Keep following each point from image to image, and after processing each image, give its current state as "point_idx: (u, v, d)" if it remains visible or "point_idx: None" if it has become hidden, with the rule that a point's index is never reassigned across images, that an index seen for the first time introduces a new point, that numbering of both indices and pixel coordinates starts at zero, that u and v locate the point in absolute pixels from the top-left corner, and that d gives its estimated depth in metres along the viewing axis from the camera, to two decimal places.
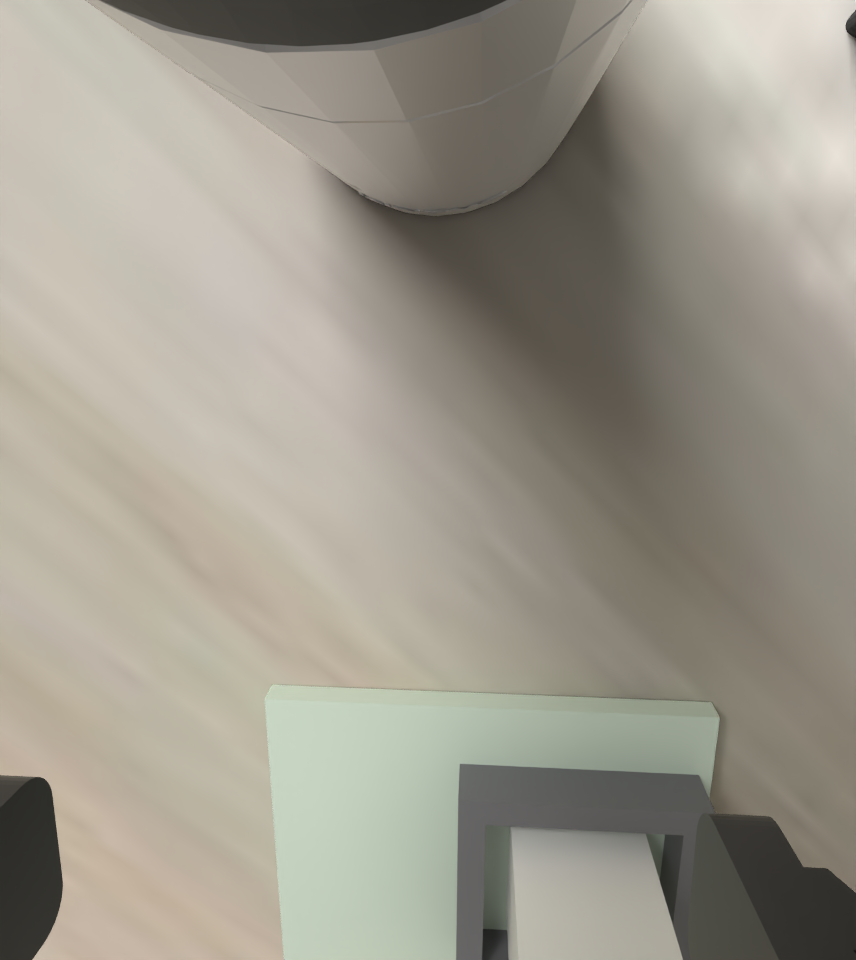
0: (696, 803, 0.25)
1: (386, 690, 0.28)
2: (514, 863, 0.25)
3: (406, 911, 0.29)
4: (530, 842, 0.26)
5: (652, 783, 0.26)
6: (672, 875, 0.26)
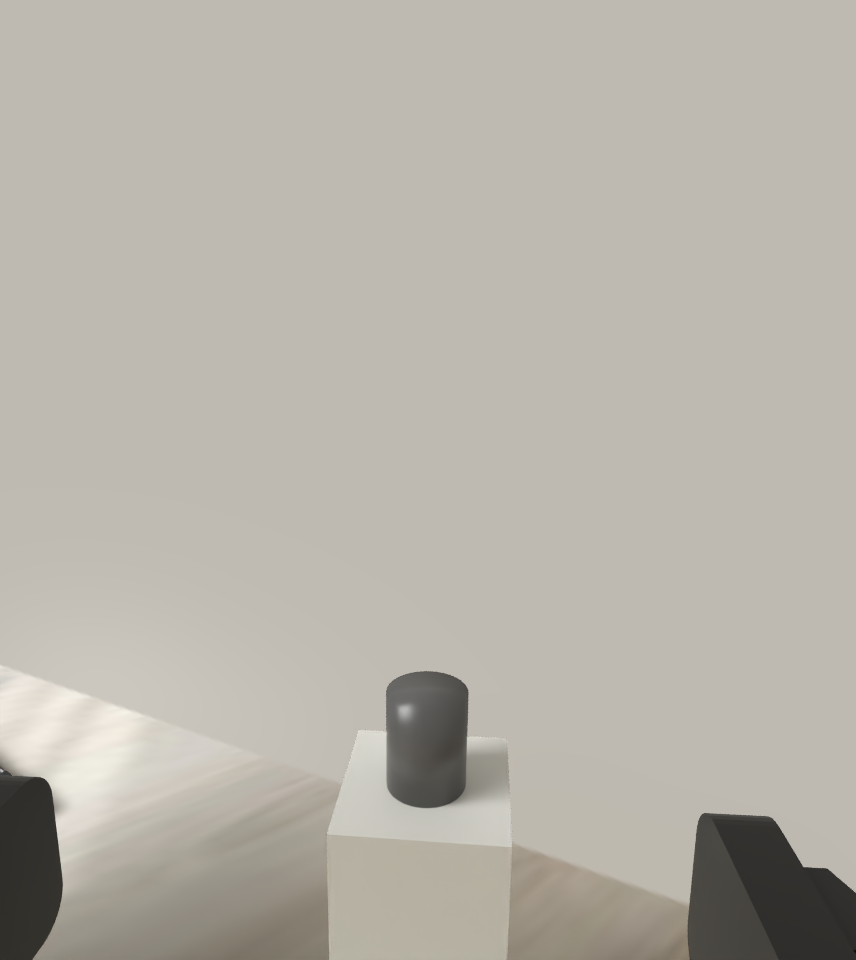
0: None
1: None
2: None
3: None
4: None
5: None
6: None
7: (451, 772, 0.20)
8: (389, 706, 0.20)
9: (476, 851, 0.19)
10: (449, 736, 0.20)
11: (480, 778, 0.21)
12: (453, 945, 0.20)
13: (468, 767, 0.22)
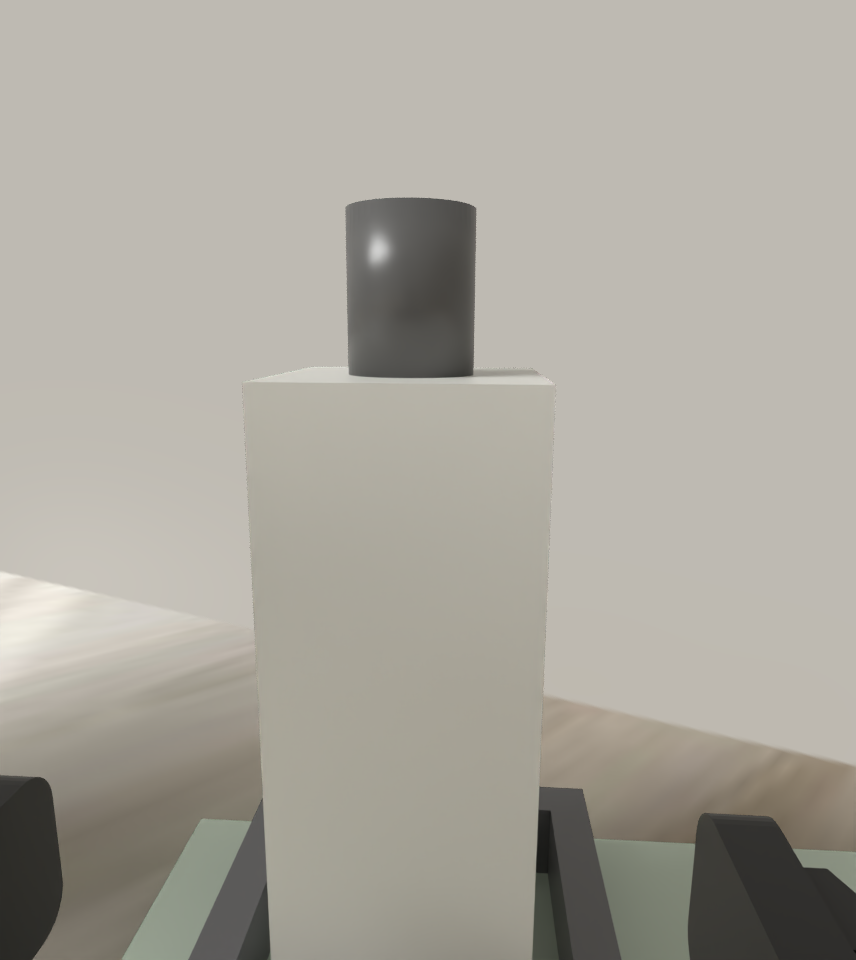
0: None
1: None
2: None
3: None
4: None
5: None
6: None
7: (450, 321, 0.12)
8: (349, 216, 0.13)
9: (494, 396, 0.11)
10: (447, 248, 0.12)
11: (495, 374, 0.14)
12: (458, 582, 0.12)
13: (476, 372, 0.14)
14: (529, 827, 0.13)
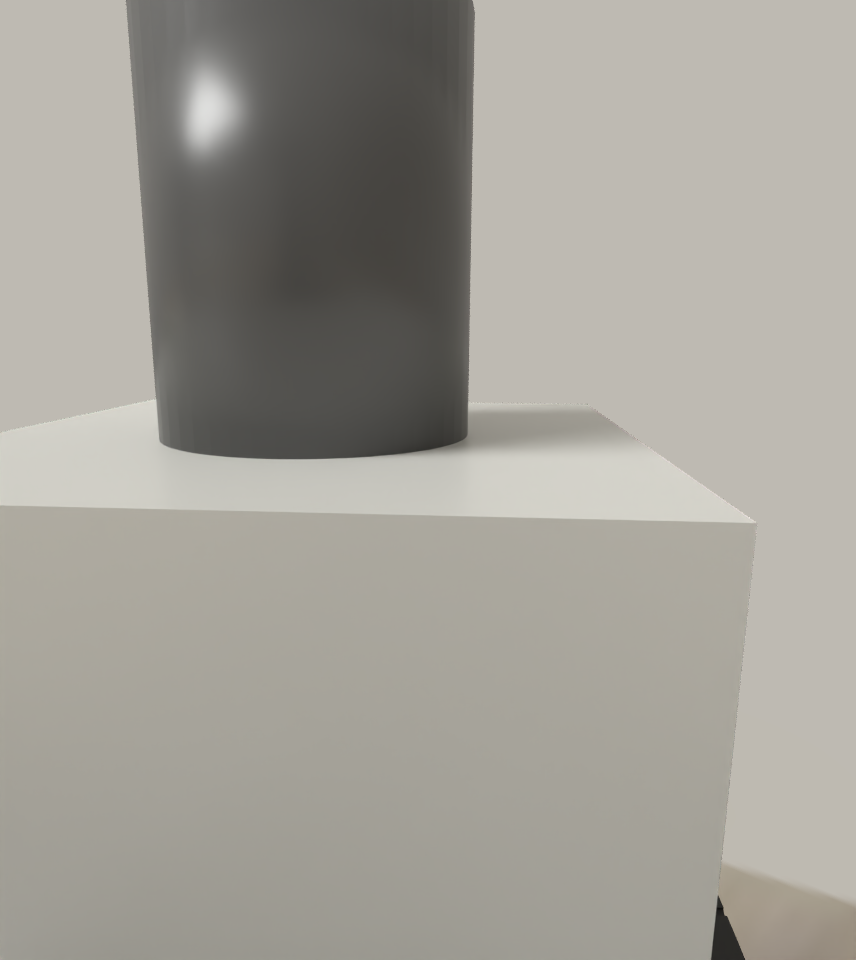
0: None
1: None
2: None
3: None
4: None
5: None
6: None
7: (403, 302, 0.05)
8: (127, 15, 0.05)
9: (534, 560, 0.03)
10: (389, 93, 0.04)
11: (519, 430, 0.06)
12: None
13: (475, 422, 0.06)
14: None
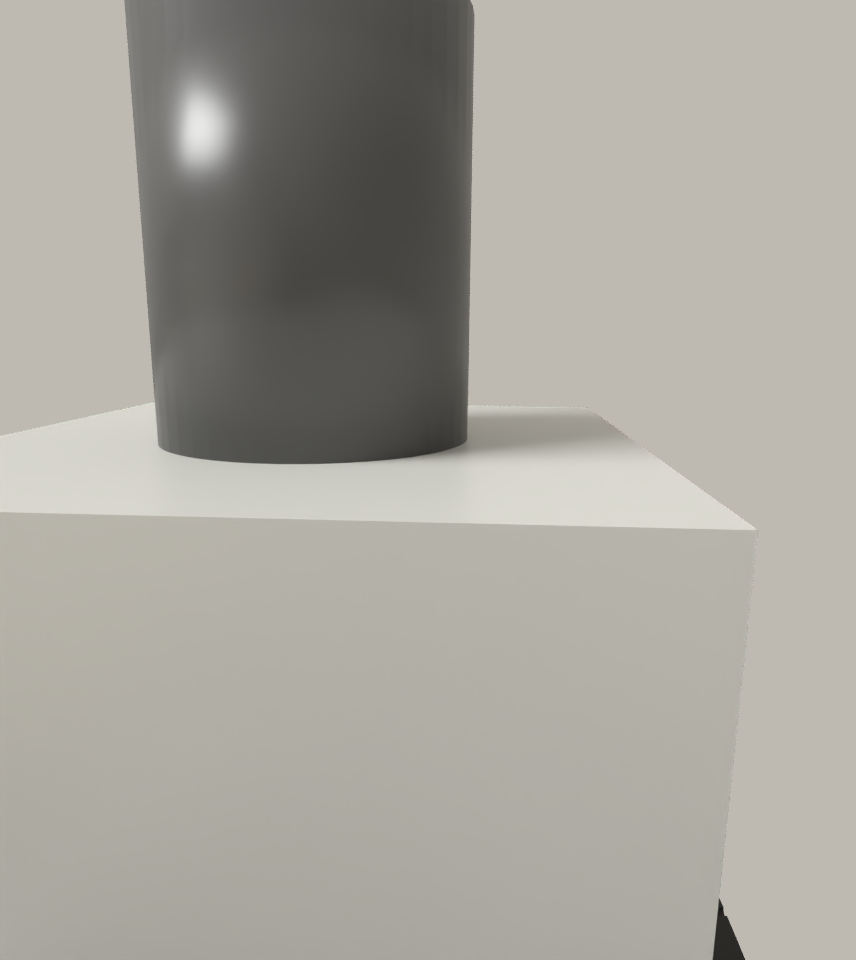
0: None
1: None
2: None
3: None
4: None
5: None
6: None
7: (403, 306, 0.05)
8: (126, 18, 0.05)
9: (537, 569, 0.03)
10: (389, 98, 0.04)
11: (519, 434, 0.06)
12: None
13: (475, 425, 0.06)
14: None
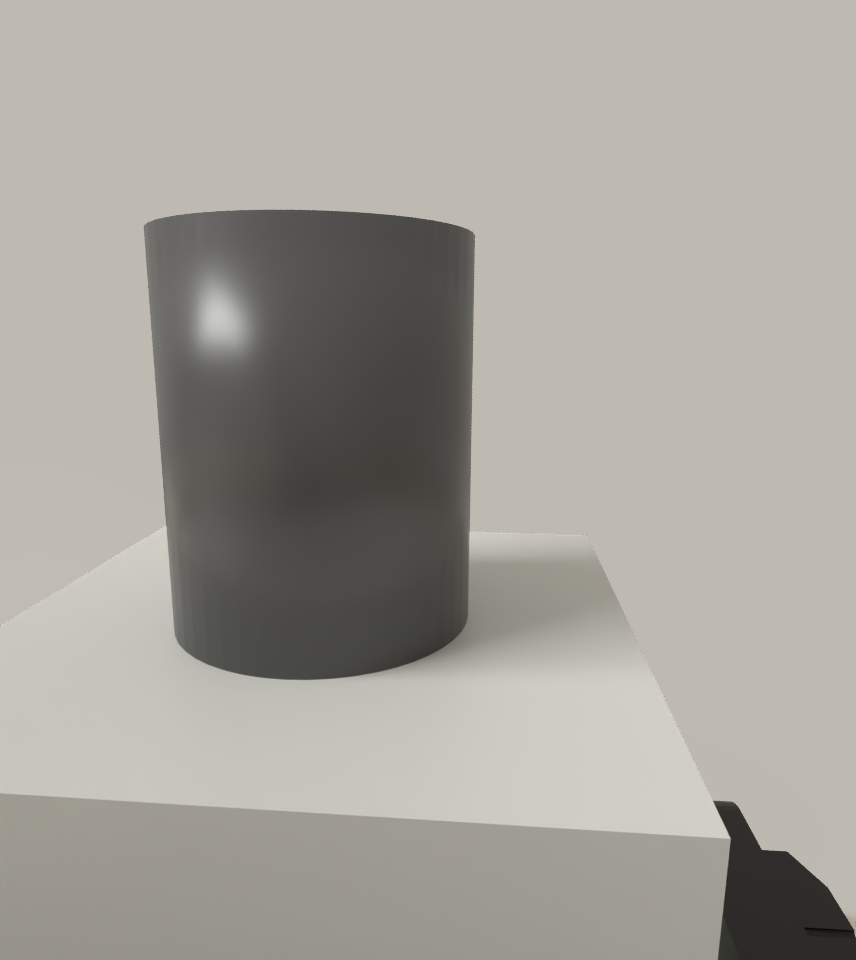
0: None
1: None
2: None
3: None
4: None
5: None
6: None
7: (406, 529, 0.05)
8: (146, 256, 0.05)
9: (525, 862, 0.03)
10: (391, 349, 0.04)
11: (519, 604, 0.06)
12: None
13: (476, 582, 0.07)
14: None
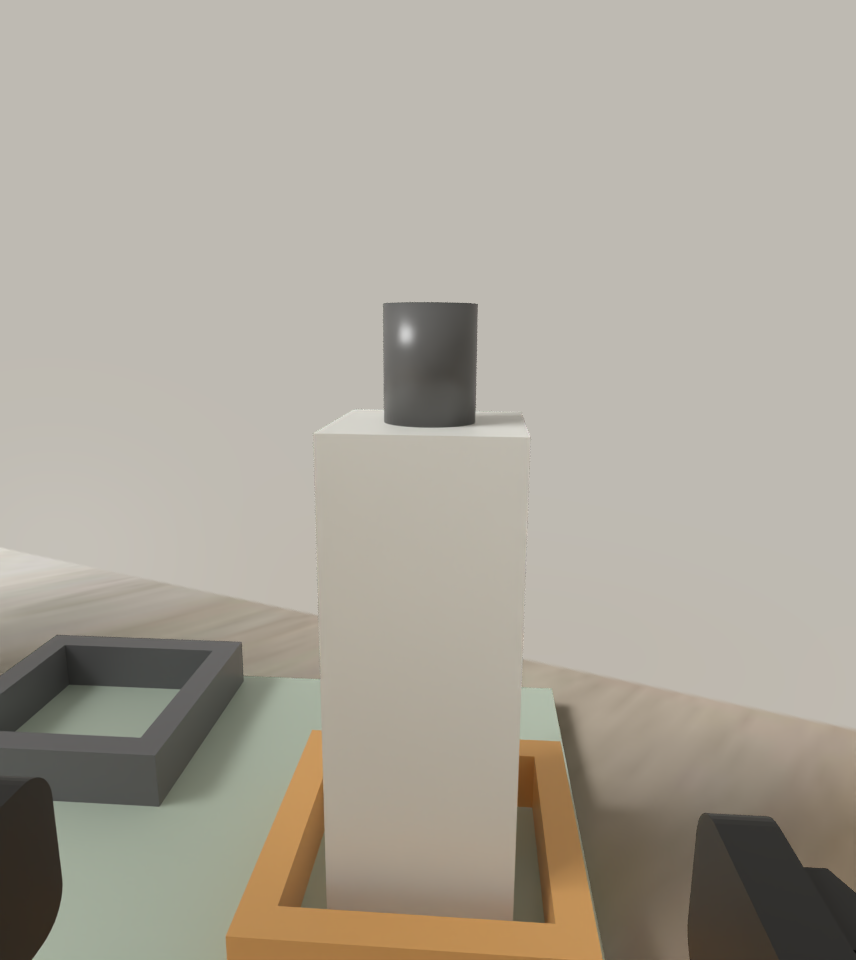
0: None
1: None
2: (326, 856, 0.19)
3: (80, 847, 0.23)
4: None
5: None
6: (116, 660, 0.33)
7: (458, 386, 0.17)
8: (386, 311, 0.17)
9: (488, 445, 0.16)
10: (456, 337, 0.17)
11: (492, 420, 0.19)
12: (462, 573, 0.17)
13: (478, 418, 0.19)
14: (513, 750, 0.18)
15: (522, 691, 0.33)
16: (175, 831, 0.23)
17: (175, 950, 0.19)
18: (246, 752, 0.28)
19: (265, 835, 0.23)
